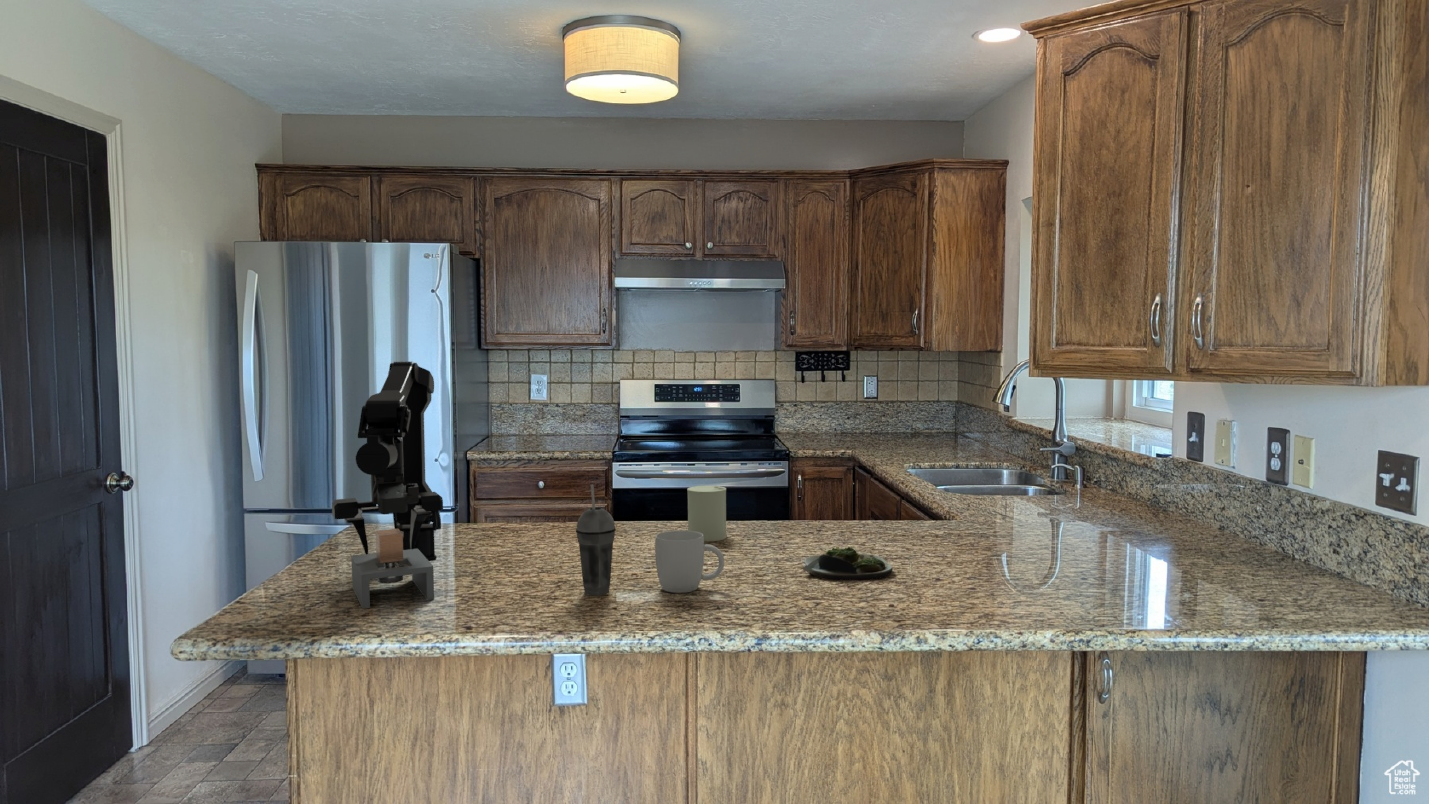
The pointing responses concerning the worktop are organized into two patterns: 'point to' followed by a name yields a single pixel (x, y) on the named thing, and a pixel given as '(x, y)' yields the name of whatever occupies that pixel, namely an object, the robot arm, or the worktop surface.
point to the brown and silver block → (389, 551)
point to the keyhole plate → (391, 573)
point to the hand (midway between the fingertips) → (389, 551)
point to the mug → (683, 560)
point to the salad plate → (847, 565)
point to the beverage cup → (596, 548)
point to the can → (707, 512)
